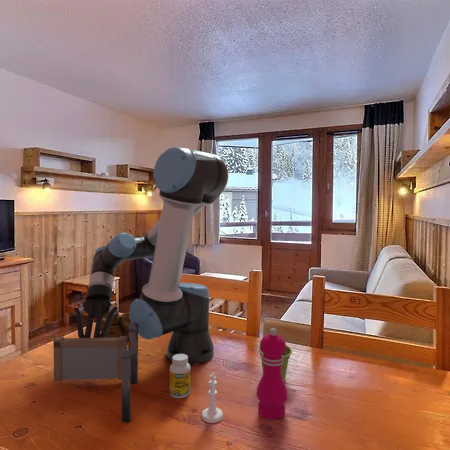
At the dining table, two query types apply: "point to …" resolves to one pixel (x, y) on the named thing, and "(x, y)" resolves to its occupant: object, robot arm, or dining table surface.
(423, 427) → the dining table surface
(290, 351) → the plant pot
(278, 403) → the pepper mill
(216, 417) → the chess piece
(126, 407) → the gate posts
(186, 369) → the supplement bottle
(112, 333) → the stuffed squirrel
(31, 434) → the dining table surface
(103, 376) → the gate leaf
